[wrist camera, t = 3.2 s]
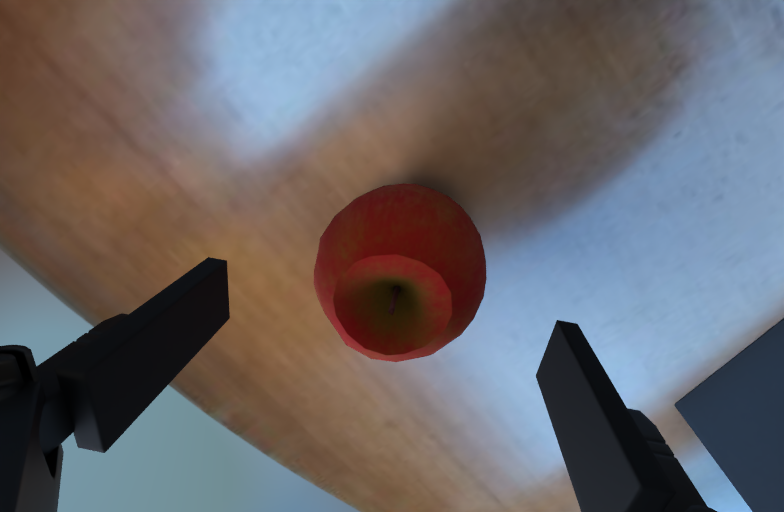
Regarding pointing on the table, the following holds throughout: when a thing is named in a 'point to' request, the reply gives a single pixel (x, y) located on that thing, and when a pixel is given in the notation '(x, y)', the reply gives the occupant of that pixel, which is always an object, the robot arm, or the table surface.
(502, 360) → the table surface
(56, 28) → the table surface
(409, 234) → the apple
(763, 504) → the shelf
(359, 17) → the table surface
